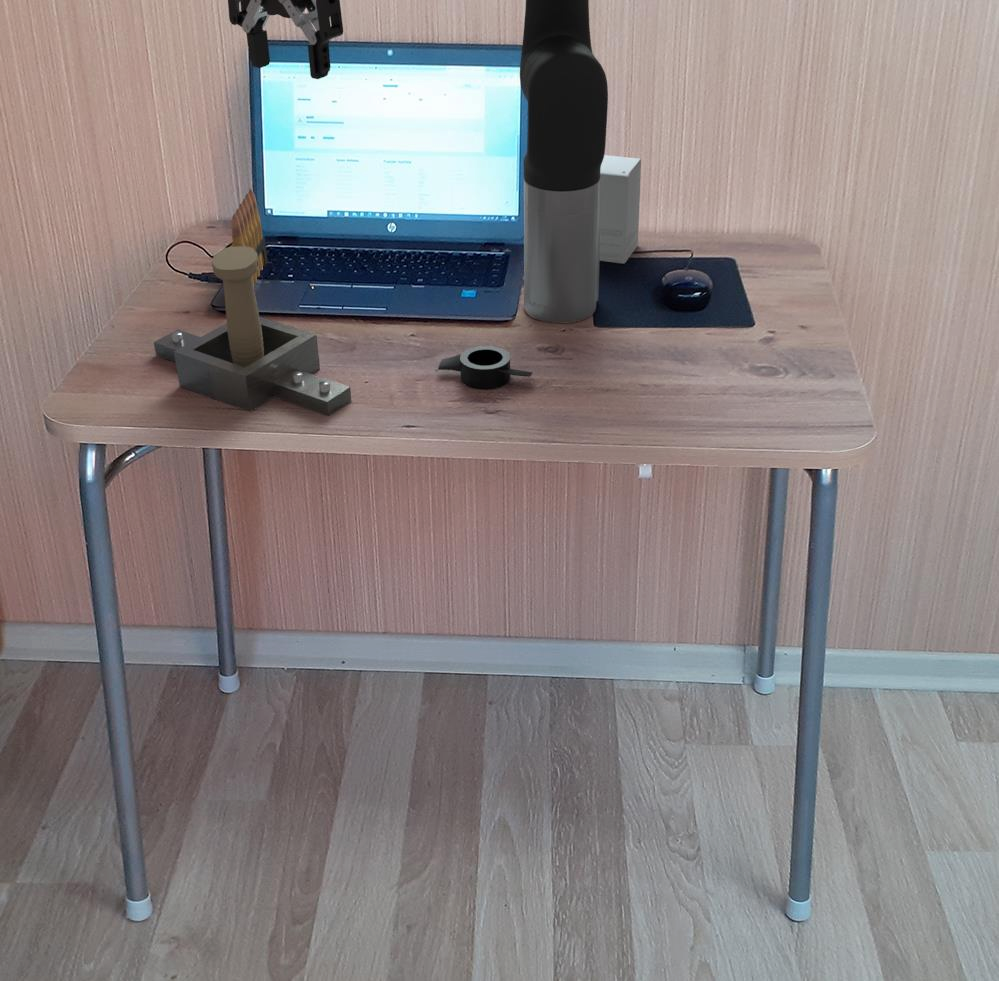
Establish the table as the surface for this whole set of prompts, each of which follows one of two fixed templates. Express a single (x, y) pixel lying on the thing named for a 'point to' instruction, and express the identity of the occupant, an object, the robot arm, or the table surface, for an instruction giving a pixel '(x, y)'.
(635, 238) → the supplement box
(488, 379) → the dark grey winged ring
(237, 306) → the handle
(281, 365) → the bracket
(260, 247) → the ammunition clip
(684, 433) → the table surface
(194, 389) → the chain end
